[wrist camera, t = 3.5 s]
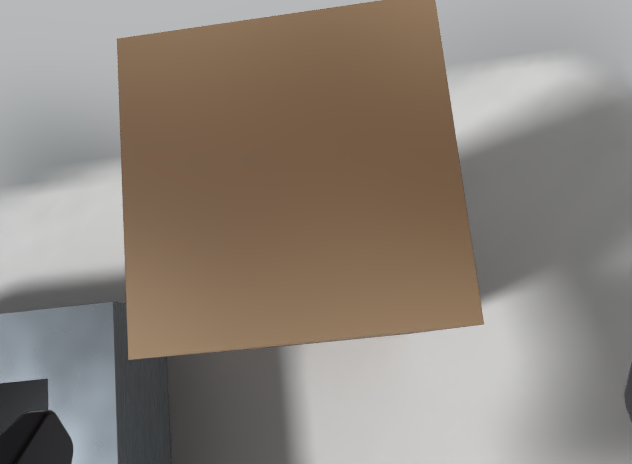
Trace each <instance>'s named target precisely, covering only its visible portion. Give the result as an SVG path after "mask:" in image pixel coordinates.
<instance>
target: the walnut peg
mask: <svg viewBox="0 0 632 464" xmlns="http://www.w3.org/2000/svg"><path fill="white" fill-rule="evenodd" d="M117 53H118V81H119V108H120V109H119V110H120V136H121V165H122V193H123V221H124V249H125V277H126V305H127V333H128V360H133V359H144V358H155V357H166V356H178V355H189V354H200V353H211V352H223V351H234V350H245V349H257V348H268V347H279V346H290V345H300V344H310V343H320V342H331V341H341V340H351V339H361V338H371V337H381V336H391V335H401V334H411V333H419V332H427V331H435V330H443V329H451V328H459V327H466V326H474V325H482V324H484V321H483V314H482V308H481V301H480V294H479V288H478V281H477V274H476V268H475V261H474V255H473V248H472V241H471V235H470V228H469V221H468V215H467V208H466V201H465V195H464V188H463V182H462V175H461V168H460V162H459V155H458V148H457V142H456V135H455V129H454V122H453V115H452V109H451V102H450V95H449V89H448V82H447V75H446V69H445V62H444V56H443V49H442V42H441V36H440V29H439V22H438V16H437V9H436V3H435V0H382V1H375V2H368V3H361V4H354V5H347V6H340V7H334V8H327V9H320V10H314V11H306V12H299V13H292V14H285V15H278V16H272V17H264V18H258V19H251V20H244V21H237V22H231V23H223V24H217V25H210V26H202V27H195V28H188V29H182V30H175V31H168V32H161V33H154V34H147V35H140V36H133V37H127V38H120V39H117Z"/></svg>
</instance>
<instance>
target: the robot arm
mask: <svg viewBox="0 0 632 464" xmlns="http://www.w3.org/2000/svg"><path fill="white" fill-rule="evenodd" d="M624 398H625V404H626V408H627V411H628V414H629V416H630V419H631V422H632V364H631V368H630V372H629V376H628V380H627V384H626V388H625V393H624ZM72 458H73V442H72V439H71V437H70V436H69V434H68V432H67V431H66V429H65V427H64V426H63V424H62V423H61V421H60V419H59V418H58V416H57V414H56V413H55V412H54V411H52V410H37V411H29V412H26V413H24V414H23V415H22V416H20V417H19V418H18V419H17V420H16V421H15V422H14V423H13V424H12V425H11V426H10V427H9V428H8V429H7V430H5V431H4V432H3V433H2V434H1V435H0V464H72Z"/></svg>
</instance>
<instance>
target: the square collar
mask: <svg viewBox="0 0 632 464" xmlns="http://www.w3.org/2000/svg"><path fill="white" fill-rule="evenodd" d="M39 379H48V410H52V411H54V412H55V413H56V414H57V416H58V418H59V419H60V421H61V423H62V424H63V426H64V427H65V429H66V431H67V432H68V434H69V436H70V437H71V439H72V442H73V458H72V464H171V443H170V422H169V401H168V380H167V359H166V357H155V358H144V359H133V360H128V333H127V305H126V303H118V302H106V303H96V304H87V305H78V306H69V307H59V308H50V309H41V310H32V311H22V312H13V313H4V314H0V383H8V382H18V381H28V380H39Z"/></svg>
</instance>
